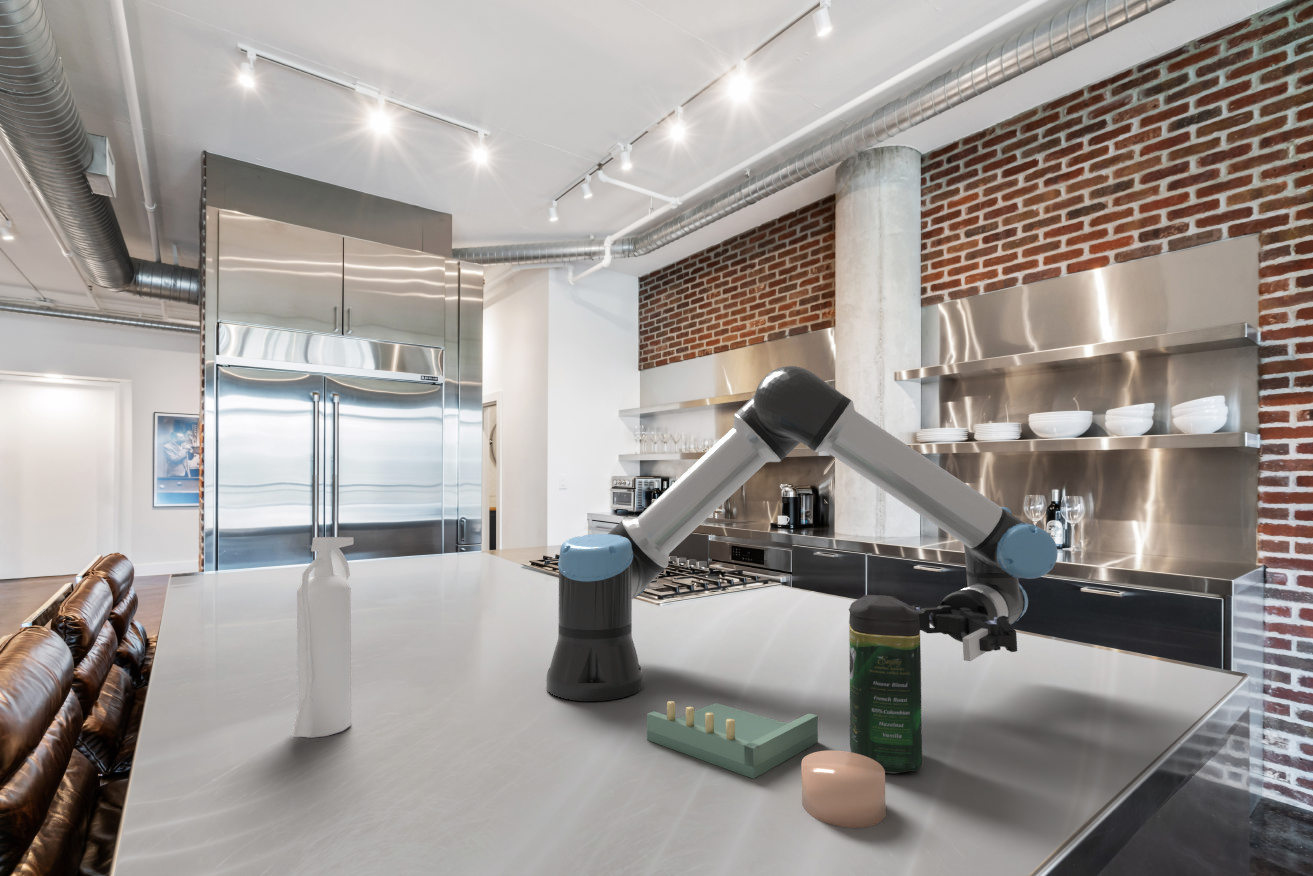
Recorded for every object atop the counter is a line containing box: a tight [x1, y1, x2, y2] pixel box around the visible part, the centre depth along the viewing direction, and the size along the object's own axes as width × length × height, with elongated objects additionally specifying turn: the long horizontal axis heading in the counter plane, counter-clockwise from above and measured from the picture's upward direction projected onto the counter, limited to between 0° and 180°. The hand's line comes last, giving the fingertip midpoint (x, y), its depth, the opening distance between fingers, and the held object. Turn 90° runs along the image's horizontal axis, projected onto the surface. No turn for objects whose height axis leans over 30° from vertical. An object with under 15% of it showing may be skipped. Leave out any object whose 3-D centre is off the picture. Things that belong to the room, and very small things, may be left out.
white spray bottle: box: [290, 536, 355, 739], centre depth 85 cm, size 7×12×25 cm, turn 176°
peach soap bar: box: [800, 750, 887, 829], centre depth 65 cm, size 8×8×4 cm
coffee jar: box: [848, 594, 923, 774], centre depth 77 cm, size 10×8×19 cm
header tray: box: [646, 700, 819, 779], centre depth 82 cm, size 16×14×5 cm
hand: (911, 640), depth 85 cm, fingers open, 13 cm apart
